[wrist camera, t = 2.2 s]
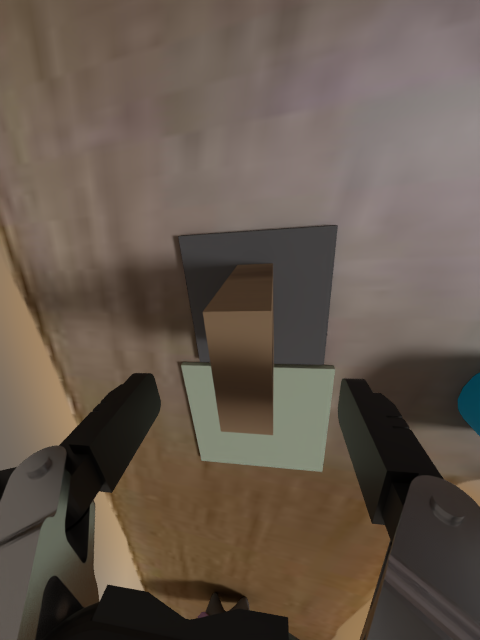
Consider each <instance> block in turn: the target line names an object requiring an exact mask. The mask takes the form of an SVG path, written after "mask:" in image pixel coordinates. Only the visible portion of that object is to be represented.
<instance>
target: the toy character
mask: <svg viewBox="0 0 480 640" xmlns="http://www.w3.org/2000/svg"><path fill="white" fill-rule="evenodd" d="M235 609H245V610H249V603H248V599H247V598H246V597H243V598H241V599H240V600H239V601H238V603H237V604H236V605H235V606H234V607H233V608H232V609H231V610H235ZM231 610H229V611H231ZM222 612H226V611H225V610H224V608H223V606H222V604H221V601H220V599H219V596H218V595H217V593H214V594H213V595H212V596H211V599H210V601H209V604H208V607H207V609H206V612H202V613H201V614H200V615H199V616H198V618H201V617H205V616H209V615H214V614H218V613H222Z"/></svg>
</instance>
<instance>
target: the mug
mask: <svg viewBox="0 0 480 640" xmlns="http://www.w3.org/2000/svg"><path fill="white" fill-rule="evenodd" d="M458 410H459V412H460V414H461V415H462V417H463V419H464V420H465V421H466V422H467V423H468V424H469V425H470V426H471V427H472V428H473V430H474V431H475V432H476V433H477V434H478V435H479V436H480V373H478V374H476V375H475V376H473V378H472V379H471V380H470V381H469V382H468V383H467V384H466V385H465V386H464V387H463V389H462V391H461V393H460V395H459V398H458Z"/></svg>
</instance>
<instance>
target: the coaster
mask: <svg viewBox="0 0 480 640" xmlns="http://www.w3.org/2000/svg"><path fill="white" fill-rule="evenodd" d="M337 227H338V226H337V225H331V226H316V227H301V228H287V229H272V230H257V231H243V232H228V233H214V234H199V235H184V236H178V237H179V243H180V249H181V255H182V261H183V266H184V272H185V278H186V284H187V289H188V295H189V301H190V307H191V313H192V318H193V324H194V330H195V336H196V341H197V347H198V353H199V359H200V362H210V357H209V350H208V343H207V337H206V330H205V323H204V317H203V311H204V309H205V308H206V307H207V305H208V304H209V303H210V301H211V300H212V299H213V297H214V296H215V295H216V293H217V292H218V291H219V289H220V288H221V287H222V285H223V284H224V283H225V281H226V280H227V278H228V277H229V276H230V274H231V273H232V272H233V270H234V269H235V268H236V266H237V265H248V264H270V263H273V314H274V364H312V365H324V357H325V347H326V337H327V327H328V317H329V307H330V297H331V287H332V277H333V267H334V257H335V247H336V237H337Z"/></svg>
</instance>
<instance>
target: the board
mask: <svg viewBox="0 0 480 640" xmlns="http://www.w3.org/2000/svg"><path fill="white" fill-rule="evenodd" d="M181 367H182V372H183V377H184V381H185V386H186V390H187V395H188V400H189V404H190V409H191V414H192V418H193V423H194V427H195V432H196V437H197V441H198V446H199V451H200V455H201V460H202V461H212V462H223V463H234V464H245V465H255V466H266V467H277V468H287V469H298V470H309V471H320V472H322V469H323V462H324V454H325V446H326V438H327V430H328V422H329V414H330V406H331V398H332V390H333V382H334V374H335V367H334V366H327V365H284V364H274V389H273V435H262V434H248V433H234V432H221V430H220V423H219V416H218V410H217V403H216V396H215V390H214V383H213V376H212V370H211V363H198V362H183V363H182V364H181Z"/></svg>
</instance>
